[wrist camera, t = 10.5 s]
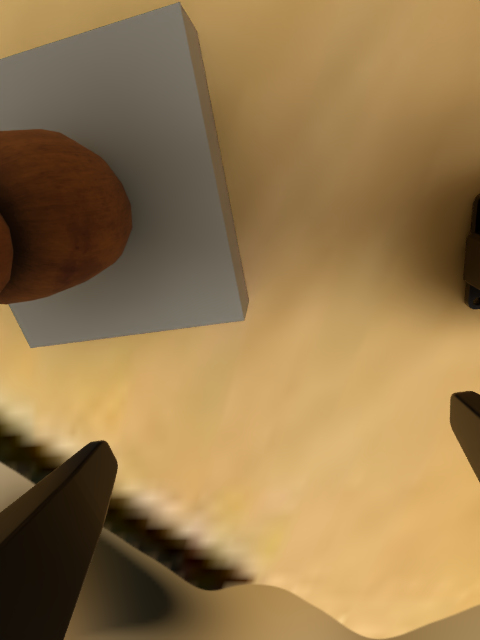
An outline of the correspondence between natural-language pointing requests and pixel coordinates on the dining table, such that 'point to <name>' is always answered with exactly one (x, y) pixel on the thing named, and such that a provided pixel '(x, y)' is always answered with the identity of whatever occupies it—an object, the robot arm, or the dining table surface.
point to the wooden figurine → (56, 215)
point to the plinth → (136, 176)
